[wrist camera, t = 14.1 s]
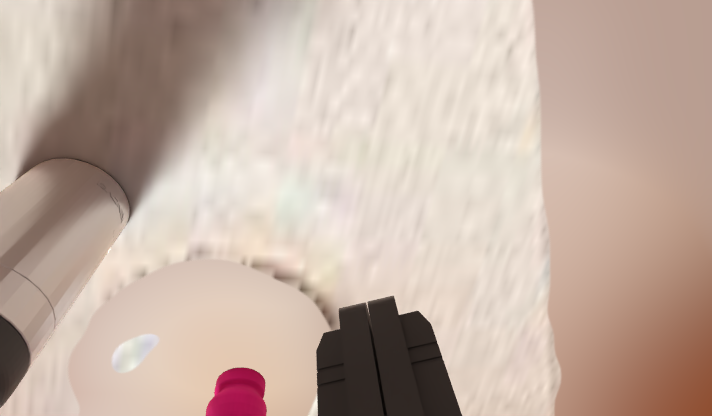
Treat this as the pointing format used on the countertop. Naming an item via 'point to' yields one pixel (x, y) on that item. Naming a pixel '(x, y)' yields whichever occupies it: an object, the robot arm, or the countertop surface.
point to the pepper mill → (238, 394)
